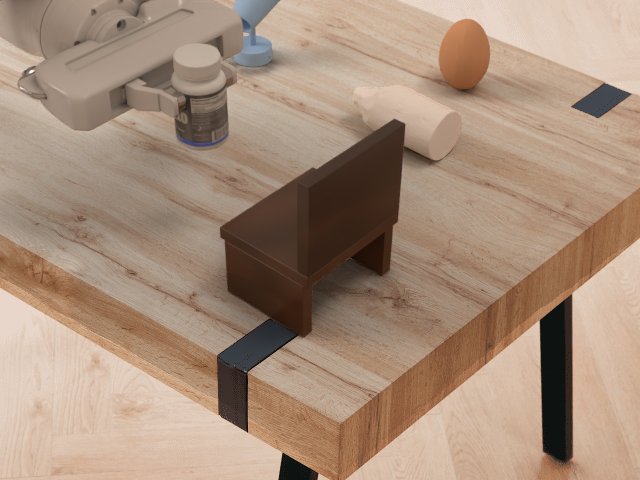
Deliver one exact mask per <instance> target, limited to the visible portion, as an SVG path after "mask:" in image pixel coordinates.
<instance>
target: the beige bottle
mask: <svg viewBox="0 0 640 480" xmlns="http://www.w3.org/2000/svg"><path fill="white" fill-rule="evenodd" d="M352 102H353V103H354V105H355V106H356V107H357V109H358V110H359V111H360V113H361V117H362V120H363V122H364V124H365V125H366V126H367V127H368V128H369V129H370V130H372V131H373V132H374V131H376V130H377V129H379V128H381V127H382V126H384V125H385V124H387V123H388V122H390V121H391V120H393V119H397V120H399V121H401V122H403V123H405V124H406V125H405V138H404V148H408V149H409V150H411V151H413V152H415V153H417V154H419V155H421V156H423V157H425V158H428V159H429V160H432V161H440V160H442V159H443V158H445V157H446V156H447V155H448V154H449V153H450V152H451V151H452V150H453V148H454V147H455V145H456V144H457V142H458V140H459V137H460V135H461V131H462V125H463V121H462V120H463V119H462V115H461V113H459V112H458V111H457V110H456V109H453V108H451V107H449V106H446V105H445V104H442V103H440V102H438V101H436V100H434V99H432V98H430V97H428V96H427V95H424V94H422V93H420V92H418V91H416V90H414V89H412V88H410V87H408V86H406V85H401V84H394V85H388V86H381V87H373V86H372V87H369V86H359V87H356V88H355V89H354V90H353V92H352Z"/></svg>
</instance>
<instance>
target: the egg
mask: <svg viewBox="0 0 640 480" xmlns="http://www.w3.org/2000/svg"><path fill="white" fill-rule="evenodd" d="M438 51H439V52H438V67H439V71H440V73H441V76H442V77H443V79H444V80H445V81H446V83H447V84H448V85H449V86H451V87H453V89H457V90H468V89H471V88H474V86H476V85H477V84H479V83H480V82H481V81H482V80H483V78H484V77H485V75H486V73H487V71H488V70H489V67H490V61H491V46H490V42H489V39H488V36H487V34H486V31H485V28H483V26H482V25H481V24H480V23H479V22H477V21H476V20H474V19H473V18H463V19H459V20H457V21H456V22H454V23H453V24H452V25H451V26H450V27H449V29H448V30H447V31H446V33H445V35H444V36H443V38H442V40H441V43H440V46H439V50H438Z"/></svg>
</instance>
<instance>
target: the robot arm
mask: <svg viewBox="0 0 640 480" xmlns="http://www.w3.org/2000/svg"><path fill="white" fill-rule="evenodd" d="M243 37H244V32H243V24H242V20H241V17H240V15H239V14H238V13H237V12H236V11H235V10H233V8H231V7H230V6H227V5H225V4H223V3H221V2H219V1H217V0H0V38H1V39H3V40H4V41H5V42H7V43H8V44H10V45H12V46H14V47H15V48H17V49H19V50H21V51H23V52H24V53H26V54H29V55H31V56H34V57H39V58H43V59H44V60H42V61H40V62H39V63H38V64H37V65H33V66H29V67H28V68H26V69H24V70H23V71H22V72H21V76H20V77H19V78H18V80H17V82H16V83H17V88H18V90H19V92H21V93H22V94H24V95H25V96H27V97H29V98H31V99H33V100H37V101H40V104H41V105H42V106H43V107H44V108H45V110H46V111H47V112H48V113H50V114H51V115H52V116H53V117H54V118H56V120H58V121H60V123H62V124H64V125H65V126H66V127H68V128H70V129H71V130H73V131H79V132H90V131H93V130H95V129H97V128H99V127H100V126H103V125H105V124H106V123H108V122H111V121H112V120H114V119H116V118H118V117H120V116H121V115H124V114H125V113H127V112H129V111H131V110H133V109H134V110H135V111H138V112H155V113H160V112H161V113H163V114H165V115H166V116H168V117H170V118H174V117H175V116H177V115H179V114H181V113H182V112H184V111H186V110H187V105H186V96H185V95H184V94H183V93H182V92H178V91H177V90H176V89H174V88H172V87H171V77H172V74H173V73H174V67H173V54H174V52H175V51H176V50H177V49H178V48H179V47H181V46H184V45H187V44H194V43H200V44H207V45H210V46H213V47H214V48H216V49H217V50H218V51H219V53H220V57H221V70H222V71H223V72H224V74H225V77H226V86H227V89H228V88H230V87H232V86H233V85H236V84H237V82H238V74H237V73H238V72H237V68H236V66H234V65H232V64H230V63H228V62H226V60H228V59H230V58H232V57H234V55H236V54H238V53H240V52H241V51H242V50H243Z"/></svg>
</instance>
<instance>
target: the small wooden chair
mask: <svg viewBox="0 0 640 480" xmlns="http://www.w3.org/2000/svg"><path fill="white" fill-rule="evenodd" d="M405 125H406V124H405V123H403V122H401V121H399V120H397V119H393V120H391V121H390V122H388V123H387V124H385V125H384V126H382V127H381V128H379V129H377V130H376V131H373V132H371V133H369V134H368V135H367V136H365V137H363V138H362V139H361V140H359V141H357V142H356V143H355V144H352V145H351V146H350V147H348V148H346V149H345V150H343V151H342V152H341V153H339V154H337V155H336V156H335V157H332V158H331V159H330V160H328V161H326V162H325V163H324V164H322V165H320V166H319V167H318V168H316V167H310V168H309V169H308V170H306V171H304V172H303V173H302V174H300V175H298V176H297V177H294V178H293V179H292V180H290V181H288V182H287V183H286V184H284V185H283V186H282V187H280V188H278V189H276V190H275V191H273V192H272V193H271V194H269V195H267V196H265V197H264V198H262V199H261V200H259V201H258V202H256V203H255V204H253V205H251V206H250V207H249V208H247V209H246V210H244V211H242V212H241V213H239V214H238V215H236V216H235V217H233V218H232V219H230V220H228V221H227V222H225V223H224V224H222V225H221V226H219V237H220V239H222V240H223V241H224V254H225V269H226V271H225V273H226V284H227V285H226V286H227V287H226V288H227V292H228V293H230V294H231V295H233V296H235V297H237V299H239V300H241V301H243V302H245V303H246V304H247V305H249V306H251V307H252V308H254V309H256V310H257V311H258V312H261V313H262V314H264V315H266V316H267V317H268V318H271V320H273V321H275V322H277V323H279V325H282V326H284V327H285V328H287V329H288V330H290V331H292V332H293V333H295V334H296V335H298V336H299V337H301V338H305V337H306V336H307V335H308V334H310V333H311V332H312V331H313V286H314V285H316V284H317V283H318V282H319V281H321V280H322V279H324V278H325V277H326V276H327V275H329V274H330V273H332V272H333V271H334V270H335V269H337V268H338V267H340V266H341V265H343V263H345V262H346V261H348V260H349V259H351V261H354V262H356V263H358V264H360V265H361V266H363V267H365V268H367V269H369V270H370V271H372V272H373V273H376V274H378V275H379V276H381V277H383V276H384V275H385V274H386V273H388V272H389V271H391V261H392V247H393V235H394V233H393V232H394V226H395V225H396V224H398V222H399V215H400V214H399V213H400V200H401V189H402V188H401V187H402V176H403V163H404V152H405V151H404V148H405V146H404V138H405Z"/></svg>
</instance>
